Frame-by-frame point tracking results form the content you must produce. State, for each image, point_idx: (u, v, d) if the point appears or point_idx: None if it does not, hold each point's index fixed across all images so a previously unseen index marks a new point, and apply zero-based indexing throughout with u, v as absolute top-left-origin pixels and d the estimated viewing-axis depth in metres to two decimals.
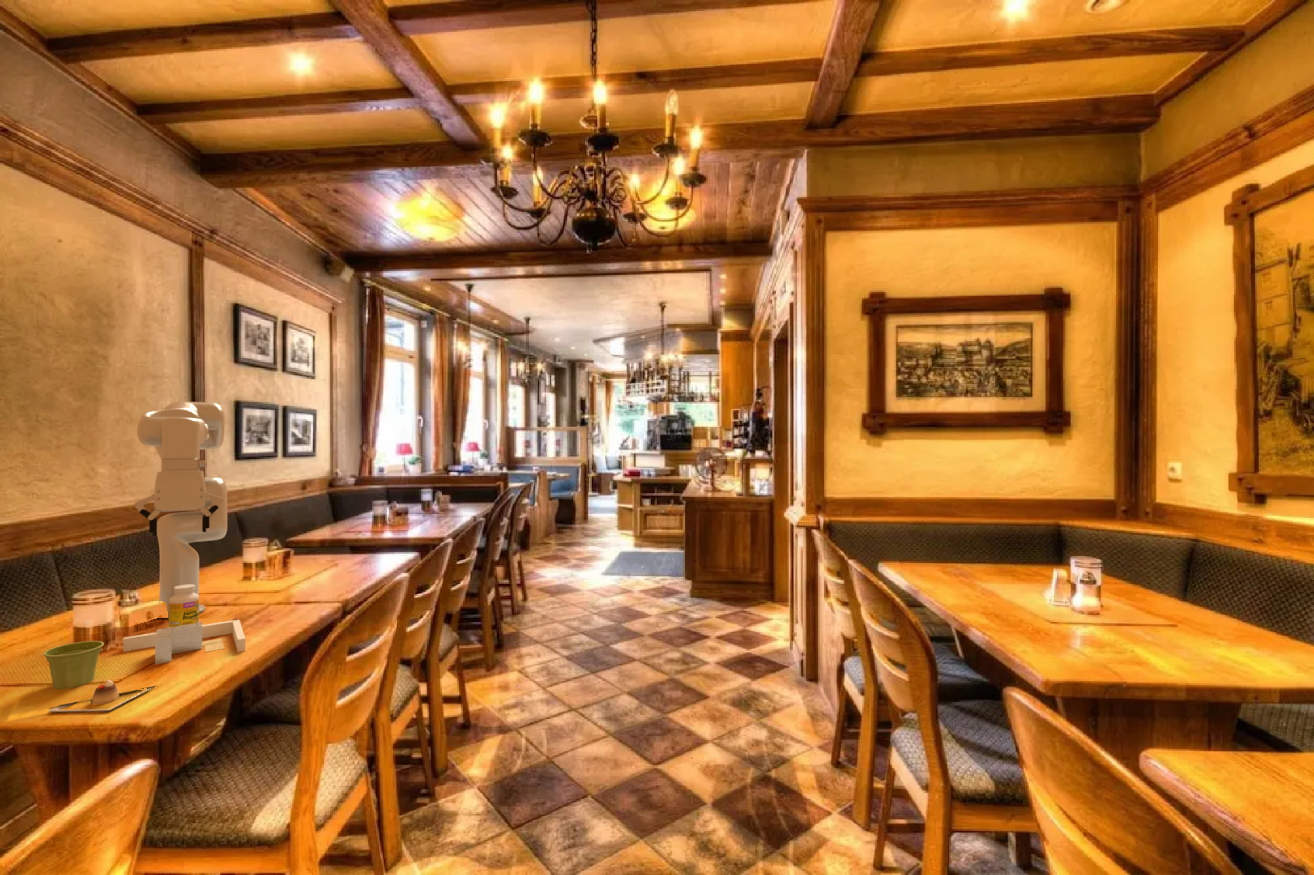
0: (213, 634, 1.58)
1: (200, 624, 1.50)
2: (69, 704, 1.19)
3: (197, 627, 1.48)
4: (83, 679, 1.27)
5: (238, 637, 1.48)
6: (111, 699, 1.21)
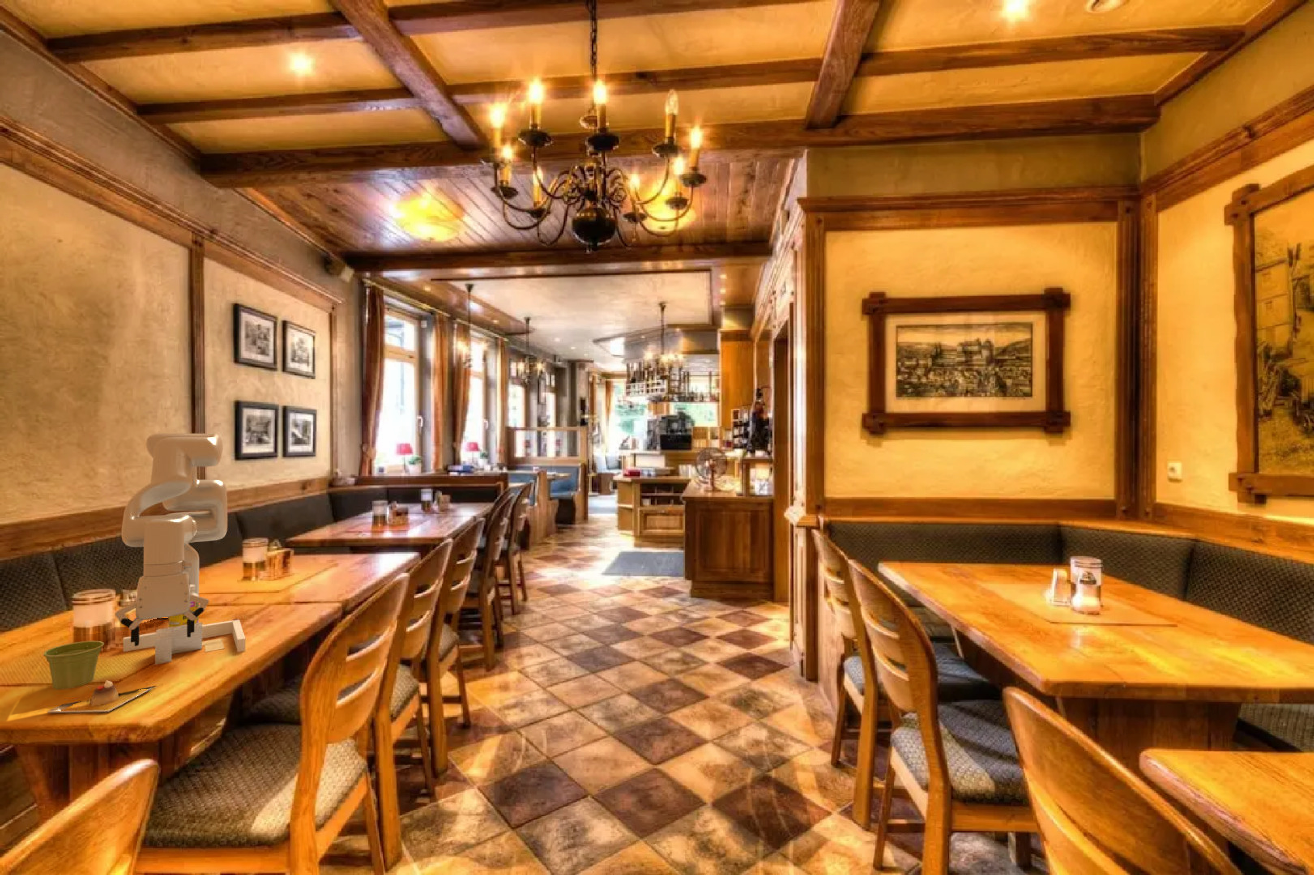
0: (213, 634, 1.58)
1: (200, 624, 1.50)
2: (68, 705, 1.19)
3: (197, 627, 1.48)
4: (83, 679, 1.27)
5: (238, 637, 1.48)
6: (110, 700, 1.21)
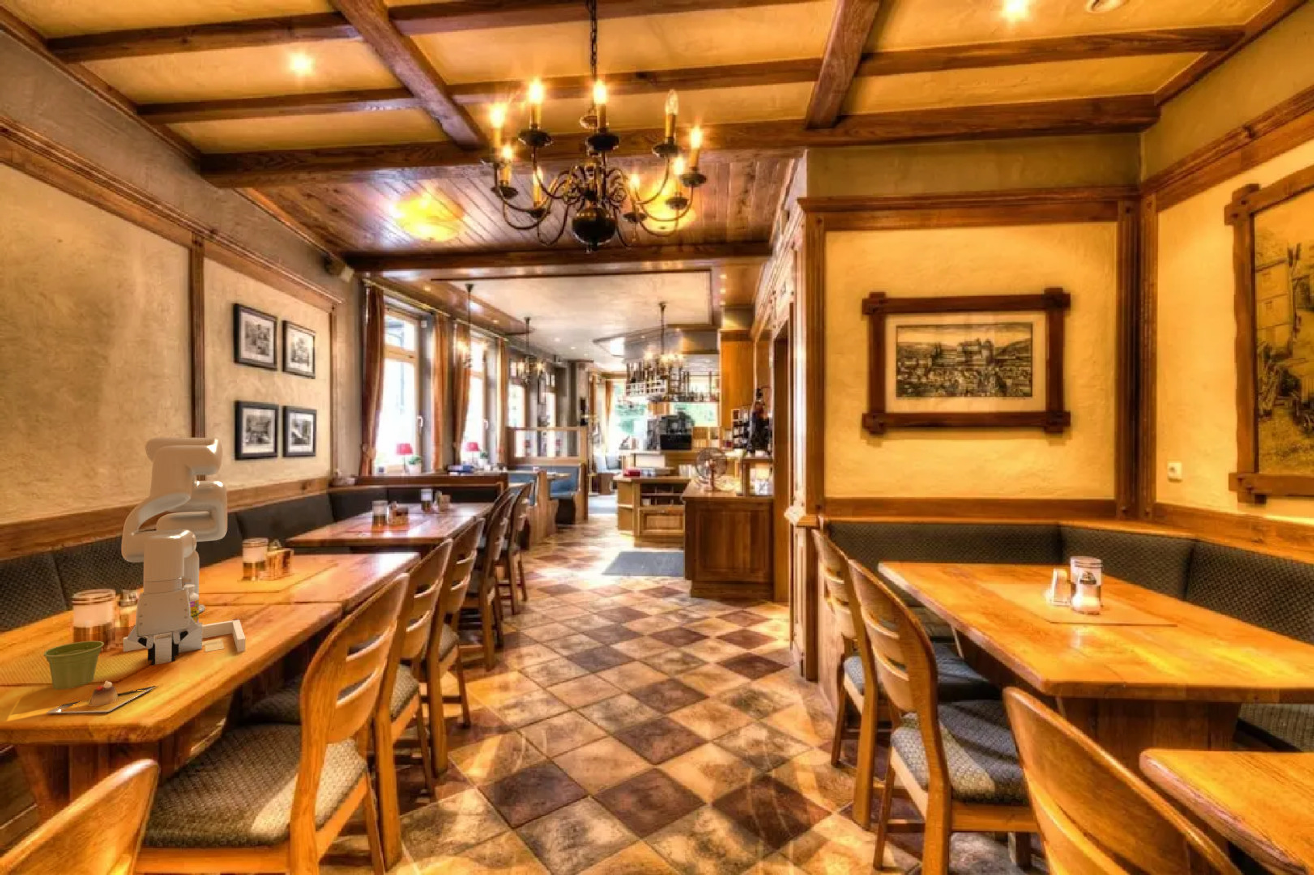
0: (213, 634, 1.58)
1: (200, 624, 1.50)
2: (67, 705, 1.18)
3: None
4: (83, 679, 1.27)
5: (238, 637, 1.48)
6: (110, 700, 1.20)
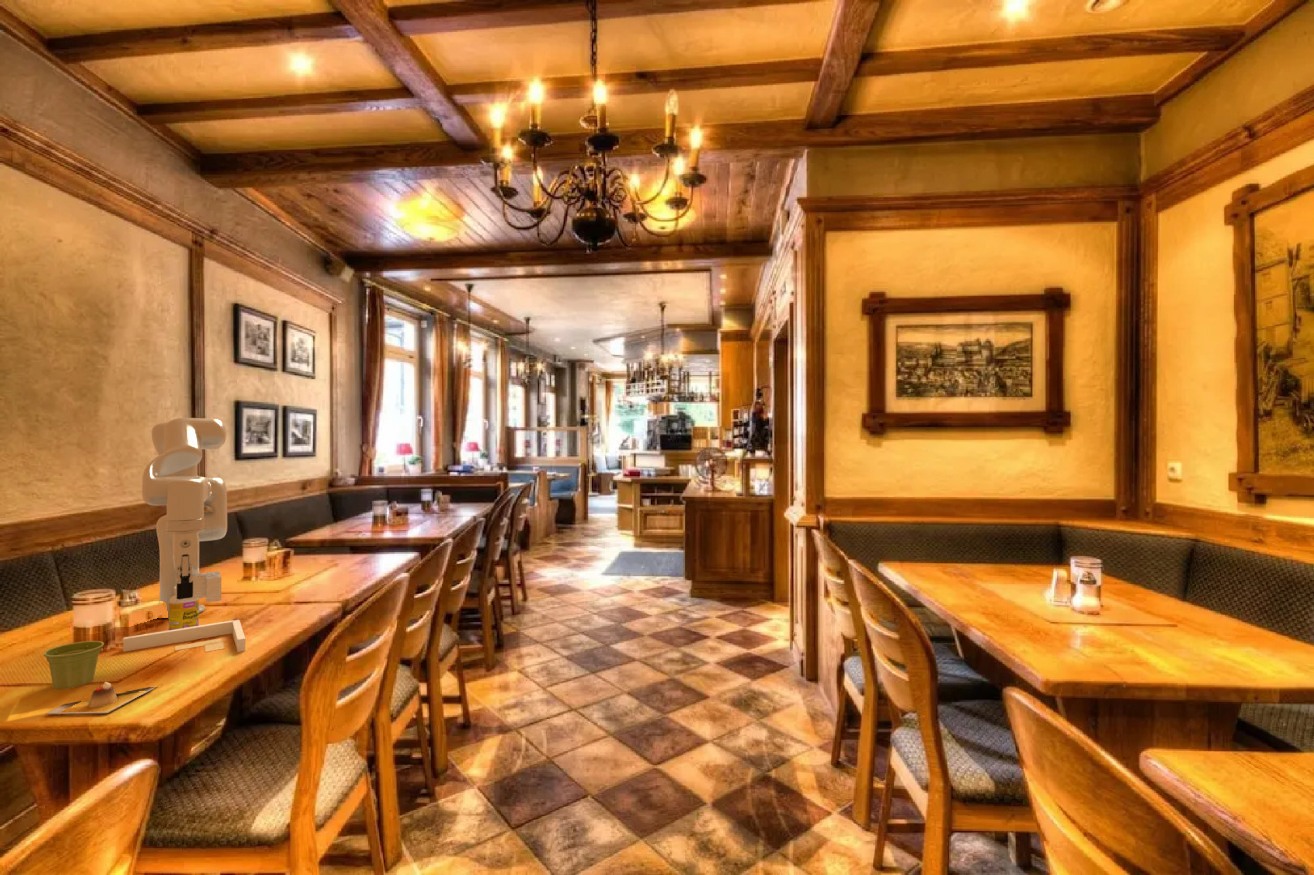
0: (213, 634, 1.58)
1: (212, 578, 1.48)
2: (66, 706, 1.18)
3: (206, 579, 1.48)
4: (83, 679, 1.27)
5: (238, 637, 1.48)
6: (109, 701, 1.20)
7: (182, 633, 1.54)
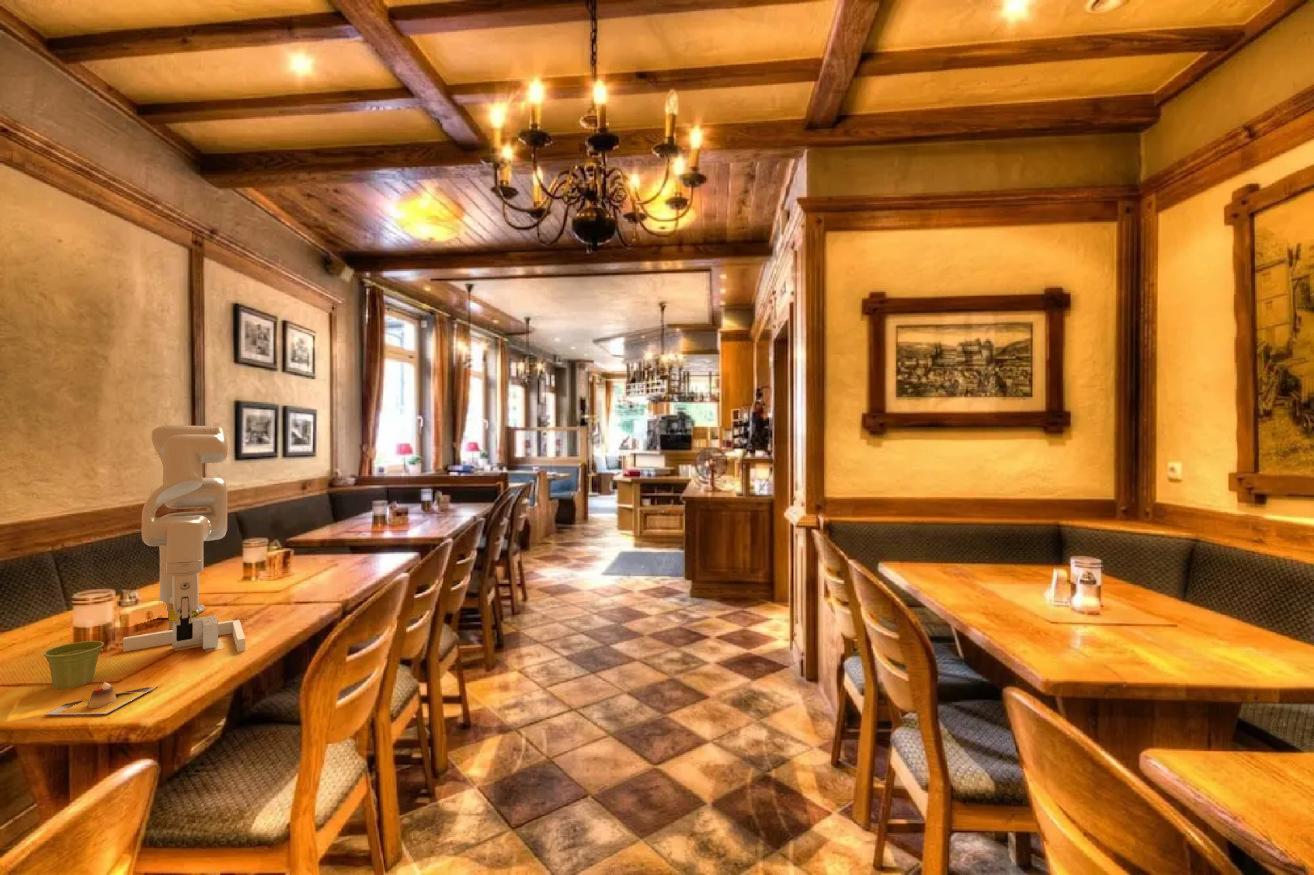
0: None
1: (209, 624, 1.48)
2: (66, 707, 1.18)
3: (203, 625, 1.47)
4: (83, 679, 1.27)
5: (238, 637, 1.48)
6: (108, 702, 1.20)
7: None
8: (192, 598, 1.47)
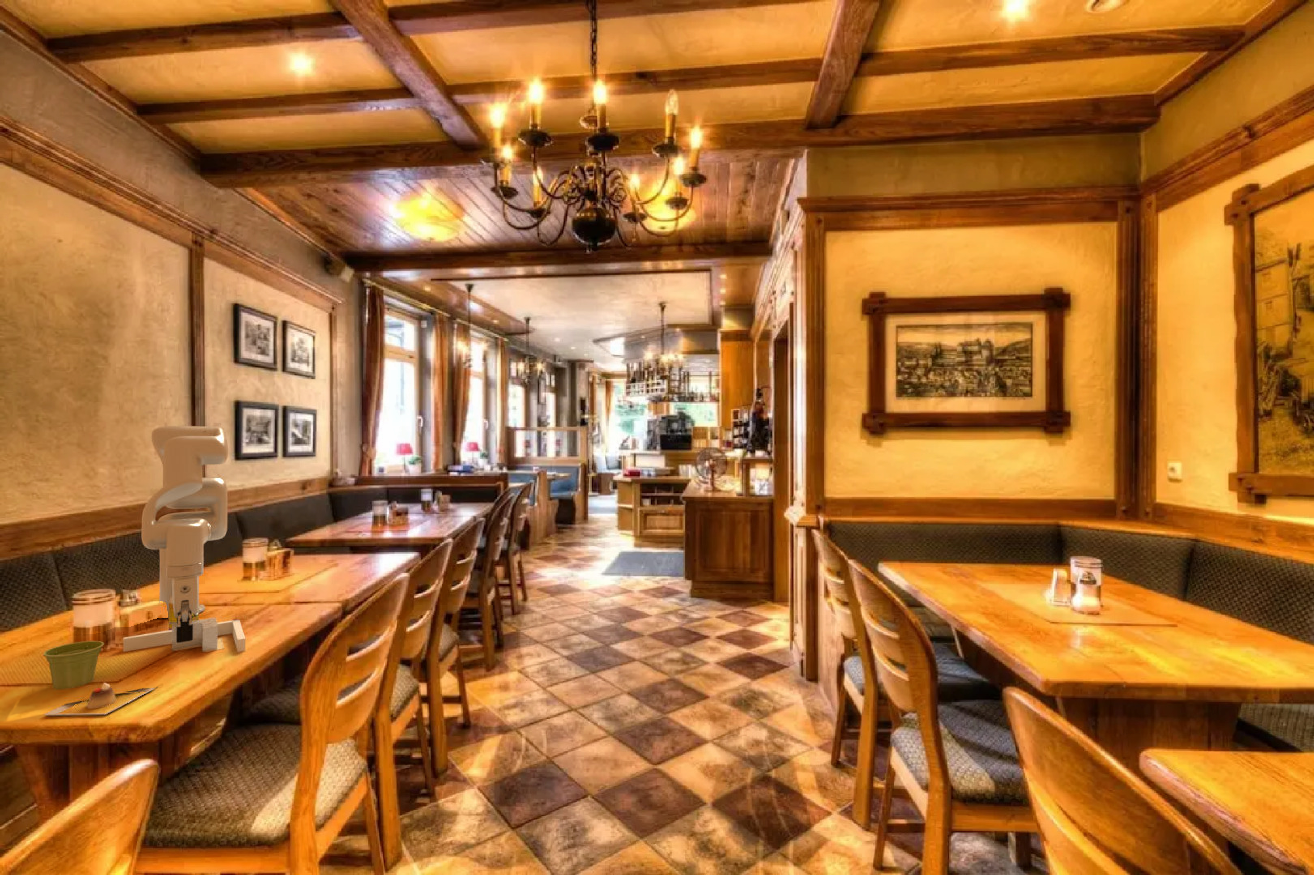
0: None
1: (209, 627, 1.48)
2: (65, 707, 1.18)
3: (202, 628, 1.47)
4: (83, 679, 1.27)
5: (238, 637, 1.48)
6: (107, 703, 1.19)
7: None
8: (192, 601, 1.47)
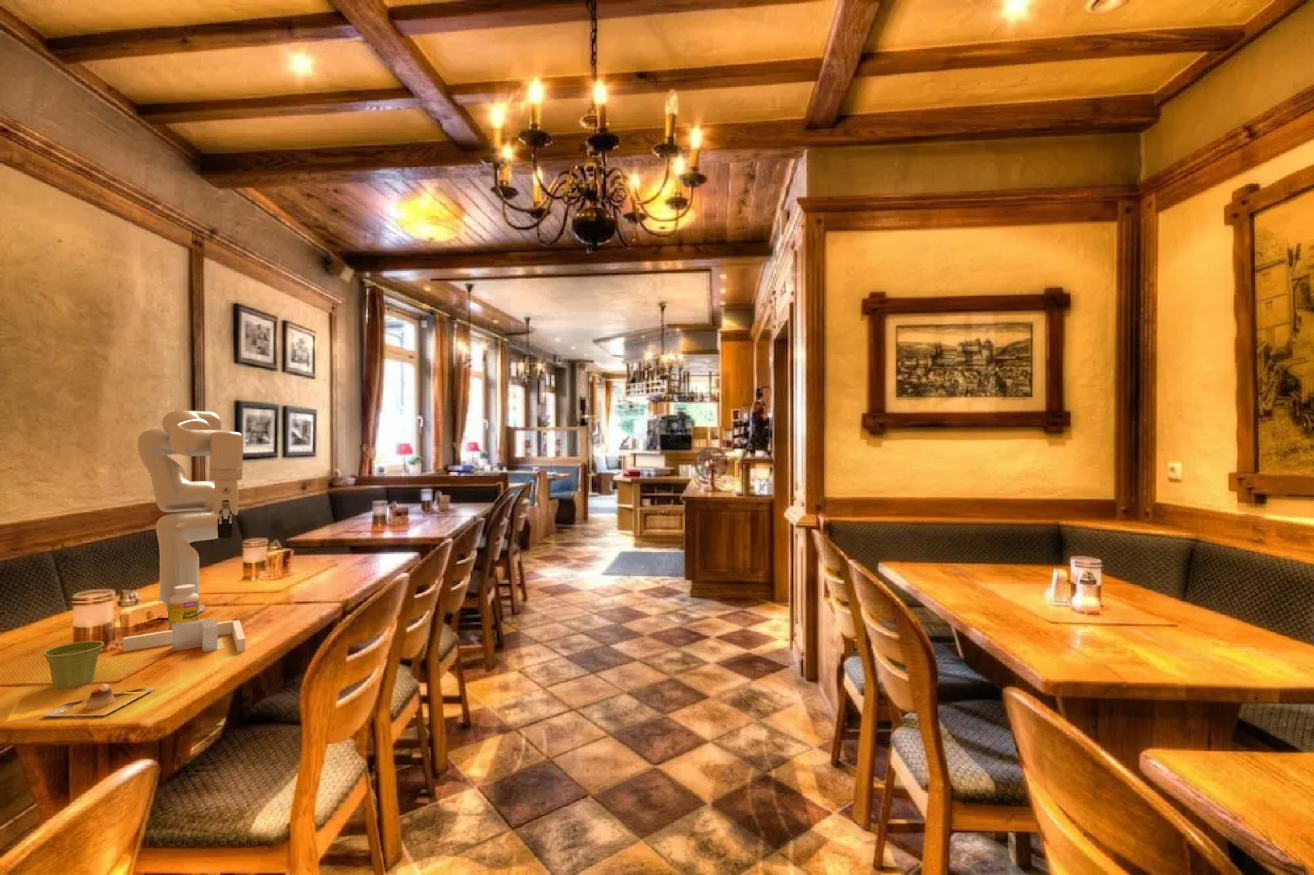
0: None
1: (209, 627, 1.48)
2: (64, 708, 1.17)
3: (202, 628, 1.47)
4: (83, 679, 1.27)
5: (238, 637, 1.48)
6: (107, 703, 1.19)
7: None
8: (232, 502, 1.61)
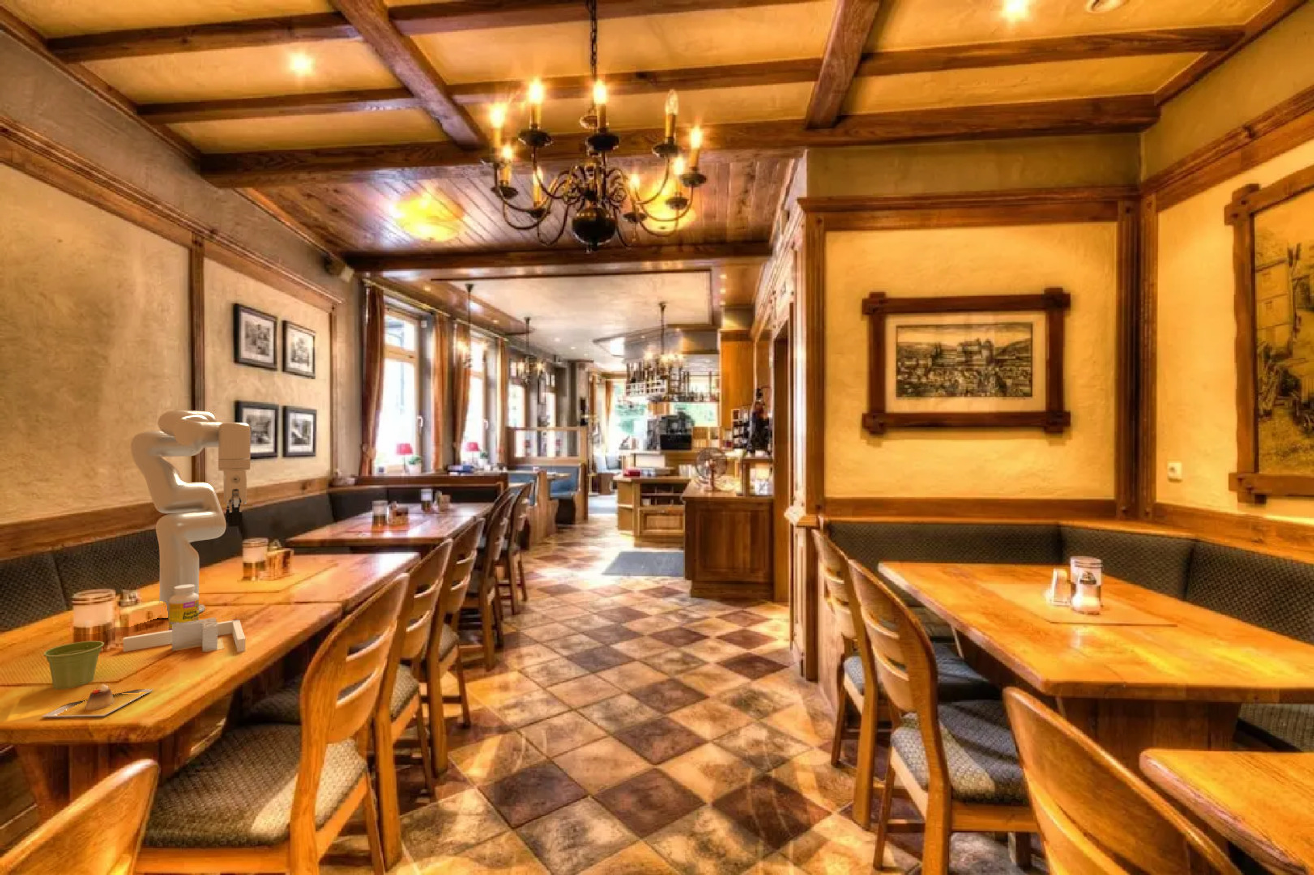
0: None
1: (209, 627, 1.48)
2: (63, 709, 1.17)
3: (202, 628, 1.47)
4: (83, 679, 1.27)
5: (238, 637, 1.48)
6: (106, 704, 1.19)
7: None
8: (242, 491, 1.64)
